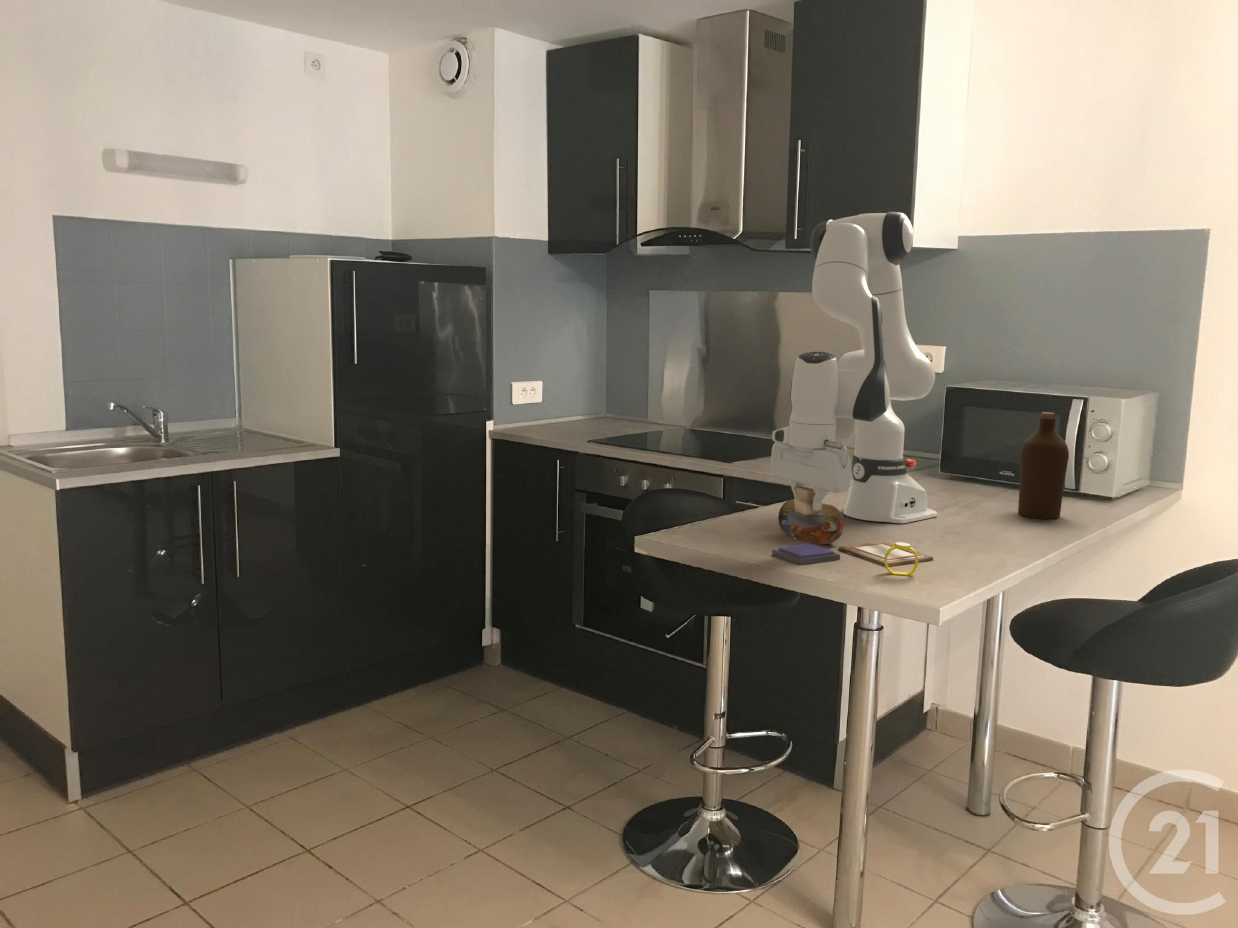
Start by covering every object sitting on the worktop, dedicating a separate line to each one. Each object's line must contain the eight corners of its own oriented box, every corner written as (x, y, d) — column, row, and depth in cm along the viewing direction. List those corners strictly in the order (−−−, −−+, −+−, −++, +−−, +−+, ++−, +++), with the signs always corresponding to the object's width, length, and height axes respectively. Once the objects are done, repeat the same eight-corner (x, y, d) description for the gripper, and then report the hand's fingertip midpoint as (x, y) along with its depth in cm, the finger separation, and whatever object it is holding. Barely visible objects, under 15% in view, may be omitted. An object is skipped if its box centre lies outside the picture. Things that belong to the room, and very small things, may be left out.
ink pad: (811, 549, 199) (812, 542, 199) (839, 559, 191) (840, 552, 191) (772, 554, 194) (772, 547, 194) (799, 564, 187) (799, 557, 186)
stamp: (808, 520, 195) (810, 485, 194) (824, 525, 191) (826, 490, 189) (788, 522, 193) (790, 487, 191) (804, 527, 188) (806, 491, 187)
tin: (776, 534, 211) (778, 496, 210) (785, 532, 213) (787, 494, 212) (836, 548, 201) (838, 508, 199) (844, 545, 203) (847, 506, 201)
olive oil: (1031, 520, 232) (1041, 415, 228) (1006, 510, 242) (1015, 410, 238) (1072, 519, 234) (1082, 415, 230) (1045, 510, 244) (1054, 410, 240)
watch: (915, 575, 183) (919, 544, 182) (916, 579, 180) (921, 548, 179) (882, 570, 184) (886, 539, 183) (883, 574, 181) (887, 543, 180)
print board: (882, 544, 205) (883, 539, 205) (932, 560, 193) (933, 555, 193) (838, 549, 199) (838, 545, 199) (887, 566, 187) (887, 562, 187)
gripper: (861, 443, 181) (856, 516, 184) (792, 429, 199) (788, 496, 201) (834, 445, 178) (829, 519, 181) (767, 431, 196) (763, 498, 198)
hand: (807, 507), depth 191 cm, fingers closed on stamp, 3 cm apart
